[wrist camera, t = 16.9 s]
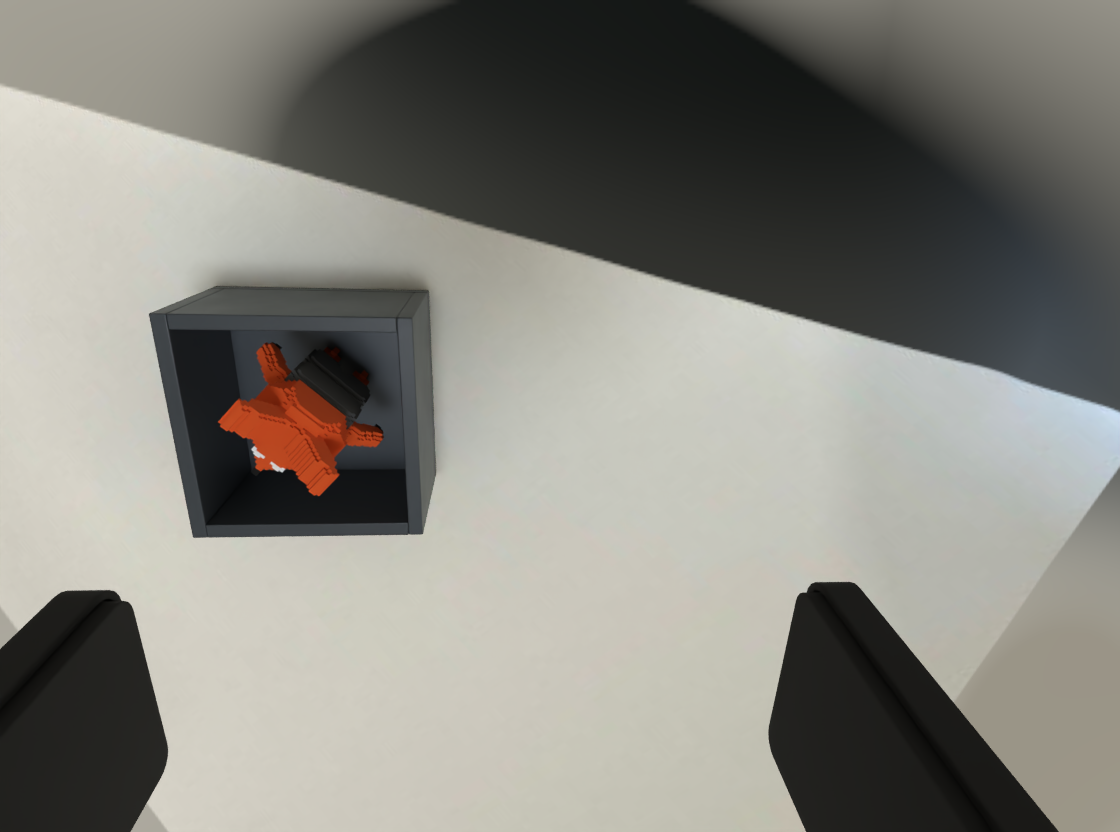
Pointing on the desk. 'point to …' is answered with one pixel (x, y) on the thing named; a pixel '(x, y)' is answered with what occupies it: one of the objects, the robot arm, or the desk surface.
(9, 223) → the desk surface
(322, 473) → the toy animal
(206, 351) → the bin
